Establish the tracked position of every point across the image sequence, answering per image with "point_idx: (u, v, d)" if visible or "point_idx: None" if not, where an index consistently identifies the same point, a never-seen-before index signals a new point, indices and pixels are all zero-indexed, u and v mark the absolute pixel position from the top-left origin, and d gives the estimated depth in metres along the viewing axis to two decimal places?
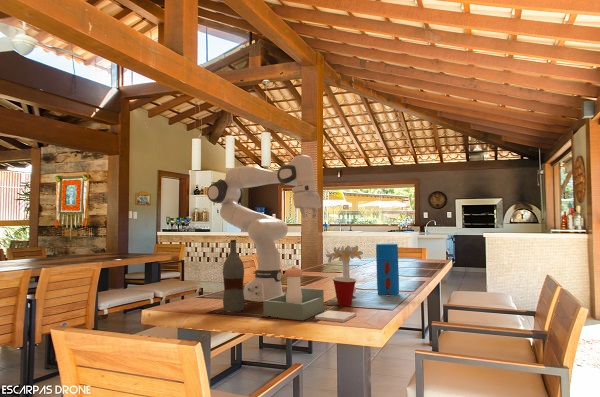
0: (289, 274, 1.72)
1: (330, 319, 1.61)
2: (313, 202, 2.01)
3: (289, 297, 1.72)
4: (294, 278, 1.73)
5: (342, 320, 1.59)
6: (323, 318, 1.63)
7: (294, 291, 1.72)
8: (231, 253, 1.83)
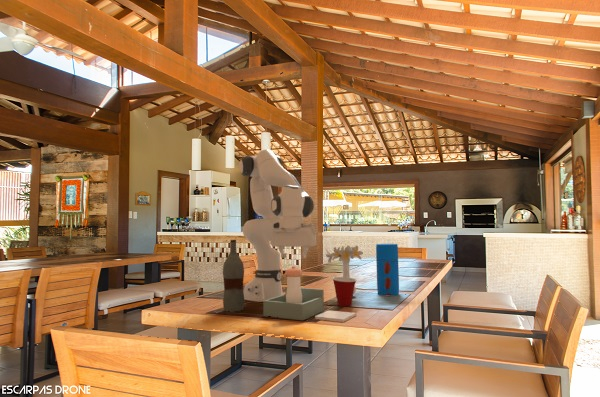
0: (289, 274, 1.72)
1: (330, 319, 1.61)
2: (294, 240, 1.74)
3: (289, 297, 1.72)
4: (294, 278, 1.73)
5: (342, 320, 1.59)
6: (323, 318, 1.63)
7: (294, 291, 1.72)
8: (231, 253, 1.83)
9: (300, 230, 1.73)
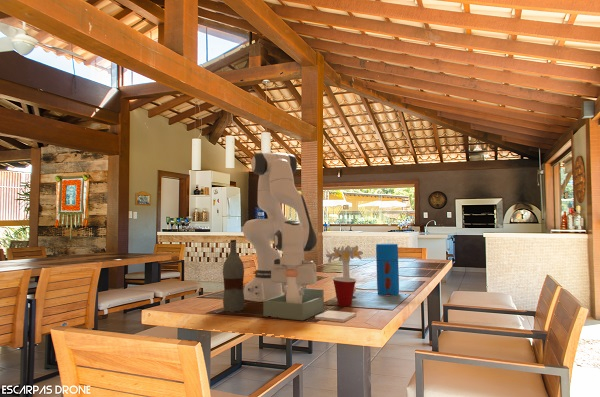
0: (289, 274, 1.72)
1: (330, 319, 1.61)
2: None
3: (289, 297, 1.72)
4: (294, 278, 1.73)
5: (342, 320, 1.59)
6: (323, 318, 1.63)
7: (294, 291, 1.72)
8: (231, 253, 1.83)
9: (301, 267, 1.72)
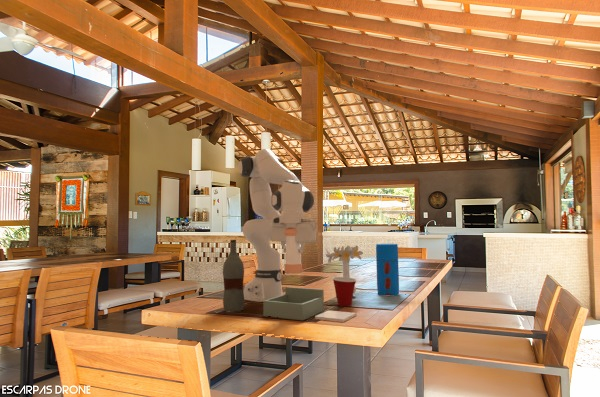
0: (288, 233, 1.73)
1: (330, 319, 1.61)
2: None
3: (288, 255, 1.73)
4: (293, 237, 1.74)
5: (342, 320, 1.59)
6: (323, 318, 1.63)
7: (293, 249, 1.73)
8: (231, 253, 1.83)
9: (300, 225, 1.73)
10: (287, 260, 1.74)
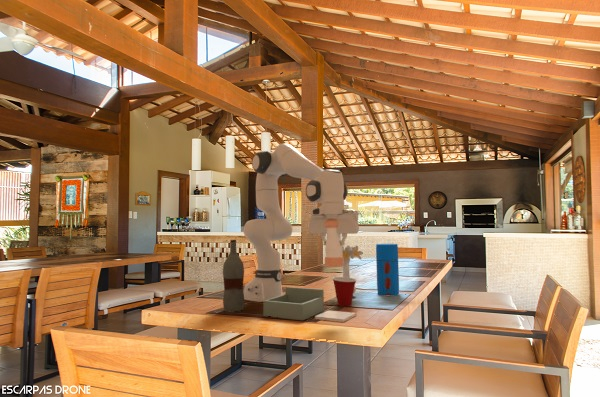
0: (330, 224, 1.66)
1: (330, 319, 1.61)
2: None
3: (329, 248, 1.65)
4: (335, 229, 1.66)
5: (342, 320, 1.59)
6: (323, 318, 1.63)
7: (335, 242, 1.65)
8: (231, 253, 1.83)
9: (342, 216, 1.65)
10: (328, 253, 1.66)
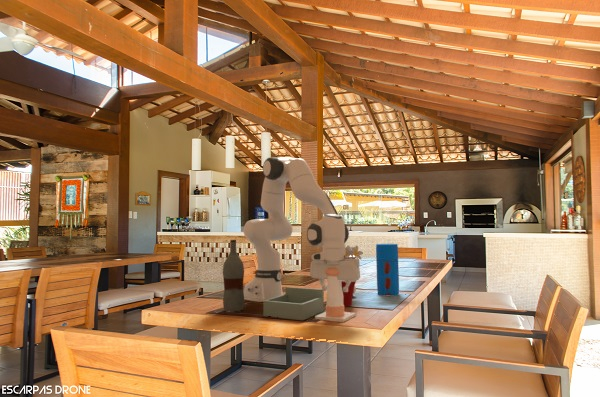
0: (331, 273, 1.65)
1: (330, 319, 1.61)
2: None
3: (331, 297, 1.64)
4: (336, 277, 1.65)
5: (342, 320, 1.59)
6: (323, 318, 1.63)
7: (336, 291, 1.64)
8: (231, 253, 1.83)
9: (343, 263, 1.64)
10: (329, 302, 1.65)
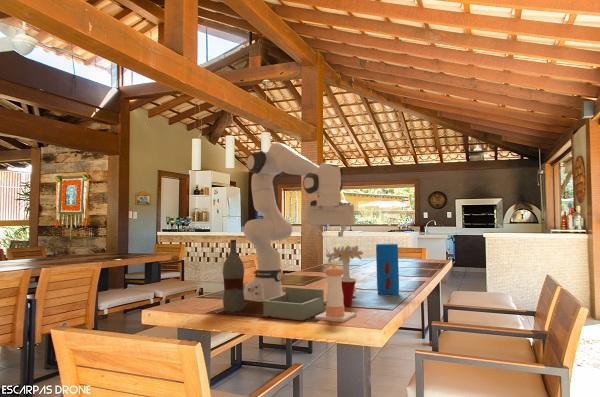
0: (331, 273, 1.65)
1: (330, 319, 1.61)
2: (331, 219, 1.73)
3: (331, 297, 1.64)
4: (336, 277, 1.65)
5: (342, 320, 1.59)
6: (323, 318, 1.63)
7: (336, 291, 1.64)
8: (231, 253, 1.83)
9: (338, 208, 1.71)
10: (329, 302, 1.65)
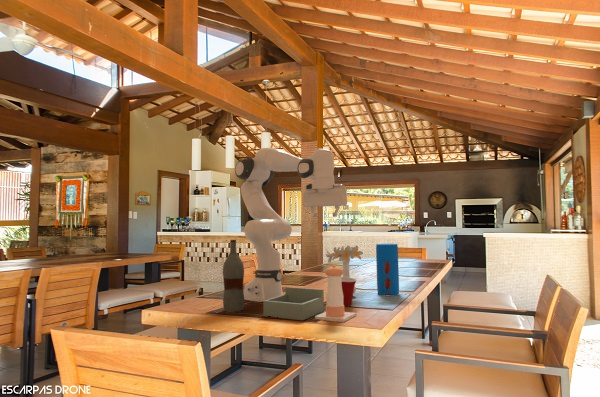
0: (331, 273, 1.65)
1: (330, 319, 1.61)
2: (326, 200, 1.85)
3: (331, 297, 1.64)
4: (336, 277, 1.65)
5: (342, 320, 1.59)
6: (323, 318, 1.63)
7: (336, 291, 1.64)
8: (231, 253, 1.83)
9: (332, 190, 1.84)
10: (329, 302, 1.65)
